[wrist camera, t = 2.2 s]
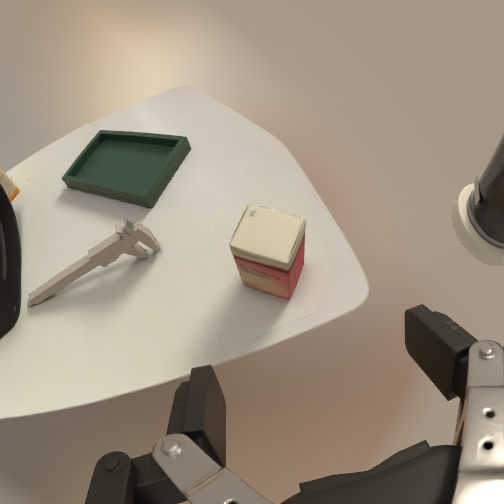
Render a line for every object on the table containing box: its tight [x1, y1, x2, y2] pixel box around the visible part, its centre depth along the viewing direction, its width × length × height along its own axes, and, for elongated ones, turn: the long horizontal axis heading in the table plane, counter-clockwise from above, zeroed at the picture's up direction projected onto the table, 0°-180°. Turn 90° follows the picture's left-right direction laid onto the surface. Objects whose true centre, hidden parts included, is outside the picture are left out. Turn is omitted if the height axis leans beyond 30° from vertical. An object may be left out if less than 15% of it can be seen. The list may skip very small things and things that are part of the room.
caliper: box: [28, 219, 160, 307], centre depth 31 cm, size 20×1×6 cm, turn 110°
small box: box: [229, 204, 306, 299], centre depth 28 cm, size 5×4×8 cm
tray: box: [62, 130, 191, 208], centre depth 41 cm, size 18×11×2 cm, turn 68°
